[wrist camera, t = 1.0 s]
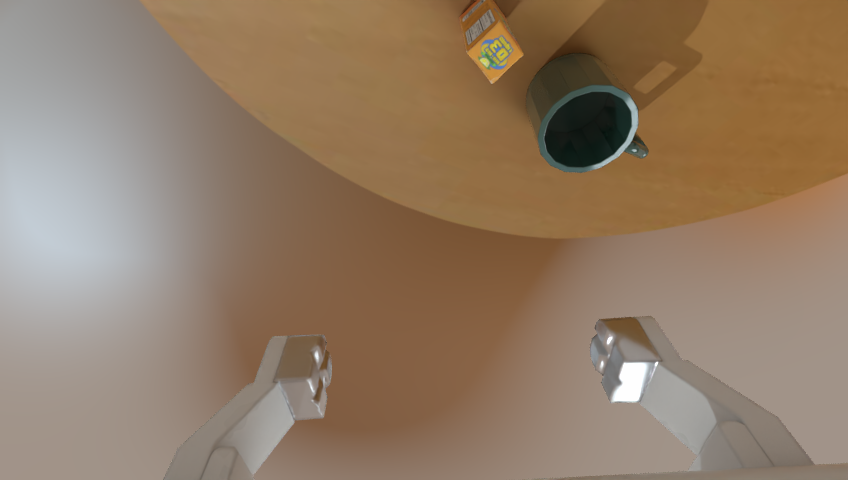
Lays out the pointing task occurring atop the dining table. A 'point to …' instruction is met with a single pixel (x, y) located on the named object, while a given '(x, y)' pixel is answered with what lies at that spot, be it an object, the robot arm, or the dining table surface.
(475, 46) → the supplement box
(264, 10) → the dining table surface
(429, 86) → the dining table surface
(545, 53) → the dining table surface
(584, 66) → the teal faceted mug
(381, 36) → the dining table surface
